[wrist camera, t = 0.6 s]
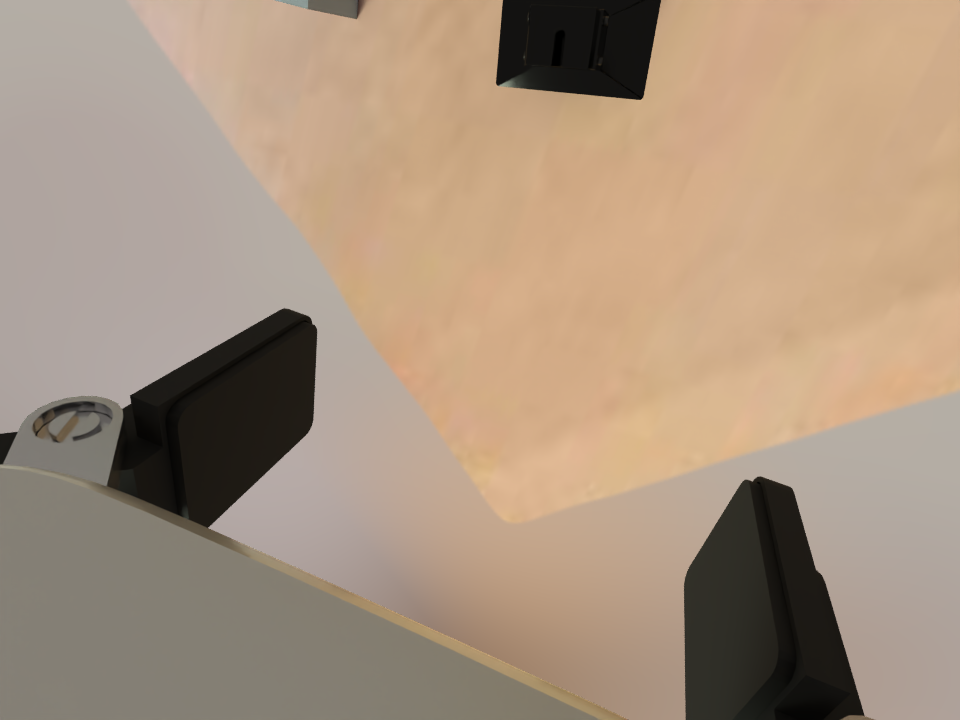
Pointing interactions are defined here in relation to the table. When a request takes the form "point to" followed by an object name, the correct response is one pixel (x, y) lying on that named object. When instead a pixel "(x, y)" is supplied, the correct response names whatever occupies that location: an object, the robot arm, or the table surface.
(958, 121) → the table surface
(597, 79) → the black hollow angular block
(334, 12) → the grey blue tray
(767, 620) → the robot arm
